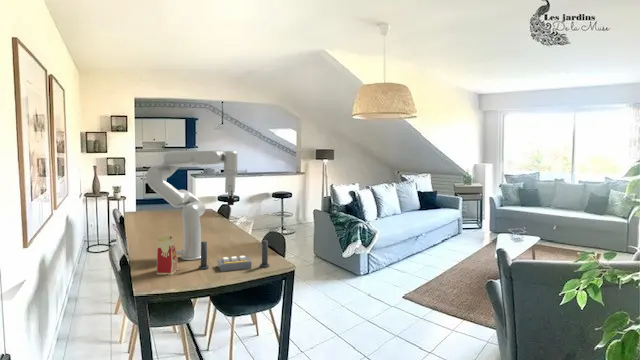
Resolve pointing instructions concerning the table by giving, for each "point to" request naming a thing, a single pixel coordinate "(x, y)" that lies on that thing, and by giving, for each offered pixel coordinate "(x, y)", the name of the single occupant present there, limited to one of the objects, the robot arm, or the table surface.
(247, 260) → the switch panel
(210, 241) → the table surface
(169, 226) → the table surface
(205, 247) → the post
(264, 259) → the right cable post
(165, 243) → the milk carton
